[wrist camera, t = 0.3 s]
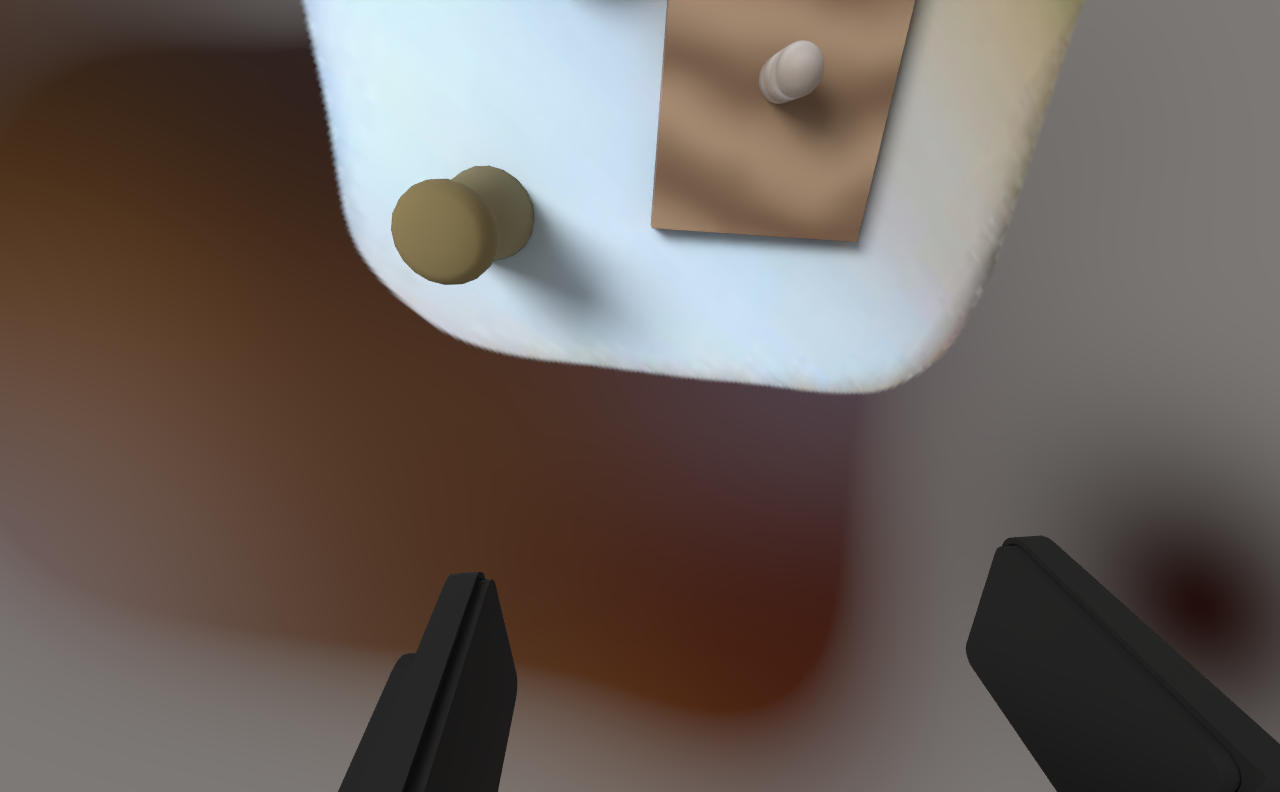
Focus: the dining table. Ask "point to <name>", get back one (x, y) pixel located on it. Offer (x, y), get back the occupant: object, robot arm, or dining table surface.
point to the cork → (461, 224)
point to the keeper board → (774, 114)
